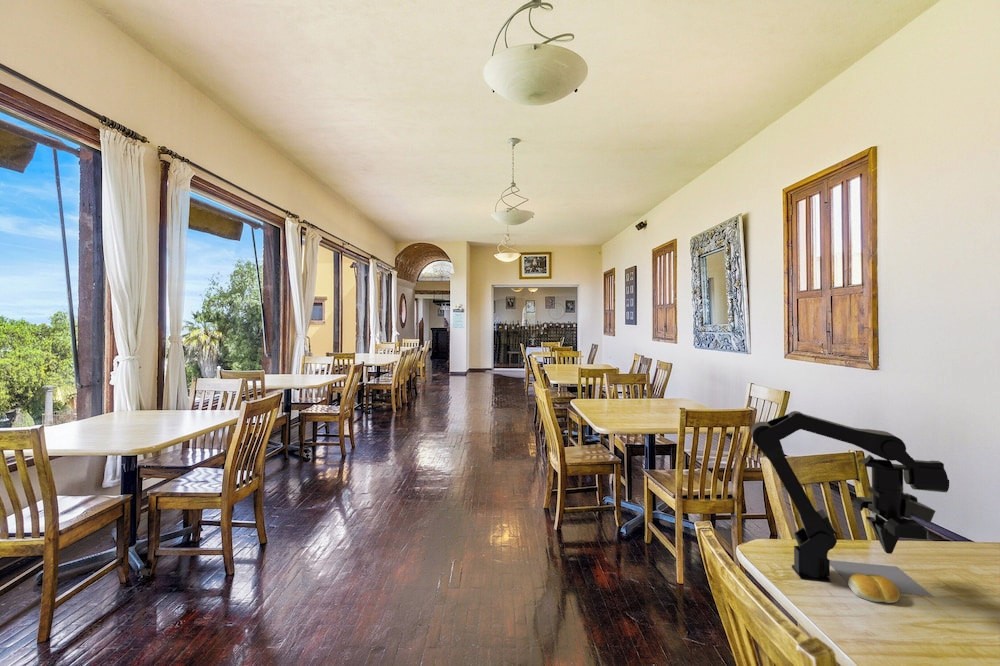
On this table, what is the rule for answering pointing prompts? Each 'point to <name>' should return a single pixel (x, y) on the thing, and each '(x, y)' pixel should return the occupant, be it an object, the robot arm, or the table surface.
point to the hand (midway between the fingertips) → (888, 552)
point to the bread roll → (874, 588)
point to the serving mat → (890, 572)
